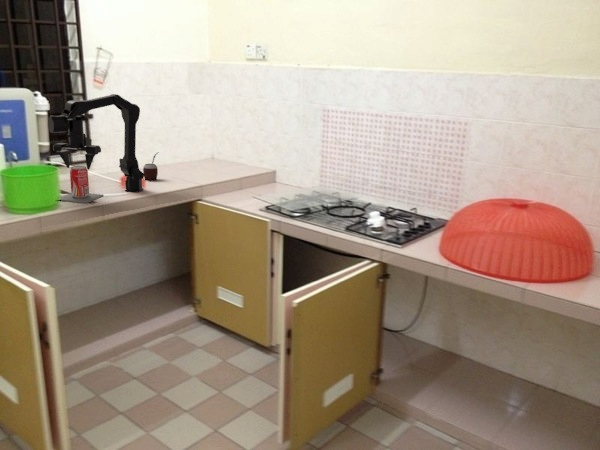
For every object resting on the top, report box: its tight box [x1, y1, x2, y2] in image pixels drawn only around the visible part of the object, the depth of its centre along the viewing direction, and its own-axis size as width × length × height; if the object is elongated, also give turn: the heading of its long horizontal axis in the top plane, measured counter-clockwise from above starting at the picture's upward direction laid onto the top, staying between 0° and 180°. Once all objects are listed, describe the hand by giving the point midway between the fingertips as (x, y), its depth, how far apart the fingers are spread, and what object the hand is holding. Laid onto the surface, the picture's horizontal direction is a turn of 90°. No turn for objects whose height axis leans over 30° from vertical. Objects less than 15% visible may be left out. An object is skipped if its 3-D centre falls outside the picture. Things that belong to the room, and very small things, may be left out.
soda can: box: [69, 165, 90, 198], centre depth 234 cm, size 7×7×13 cm
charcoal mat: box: [60, 192, 104, 204], centre depth 236 cm, size 14×14×1 cm
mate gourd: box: [142, 152, 160, 182], centre depth 275 cm, size 8×8×15 cm
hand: (78, 168), depth 233 cm, fingers open, 9 cm apart
